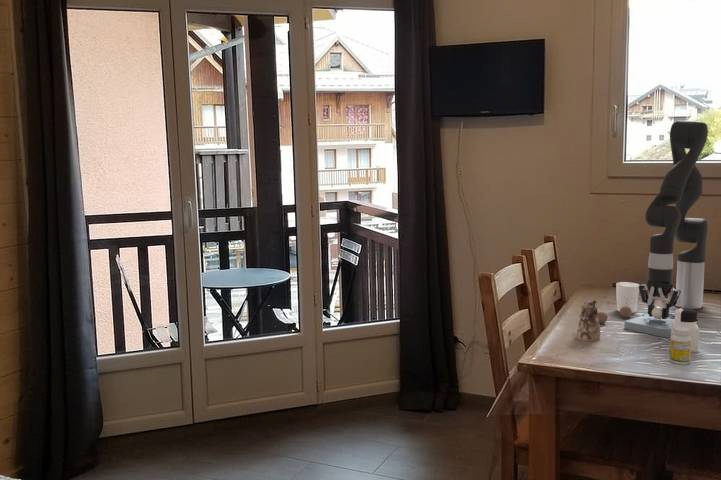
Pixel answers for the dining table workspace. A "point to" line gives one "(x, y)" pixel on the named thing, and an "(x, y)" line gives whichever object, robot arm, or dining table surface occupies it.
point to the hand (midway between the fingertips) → (657, 317)
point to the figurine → (588, 323)
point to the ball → (657, 312)
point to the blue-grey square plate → (650, 325)
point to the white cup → (627, 295)
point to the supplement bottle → (680, 346)
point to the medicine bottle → (687, 325)
